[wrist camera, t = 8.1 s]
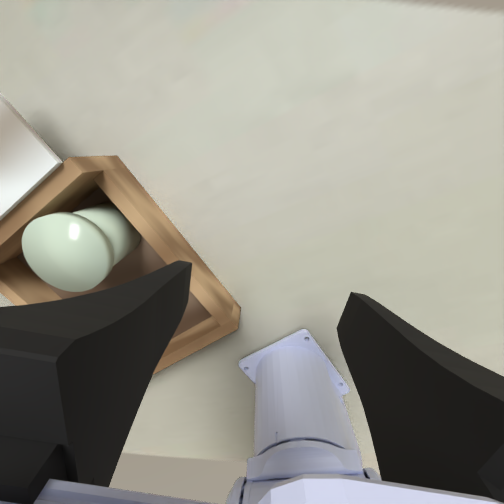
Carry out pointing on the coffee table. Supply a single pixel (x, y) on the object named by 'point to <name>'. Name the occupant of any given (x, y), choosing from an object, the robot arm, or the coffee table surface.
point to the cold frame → (86, 195)
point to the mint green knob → (79, 245)
